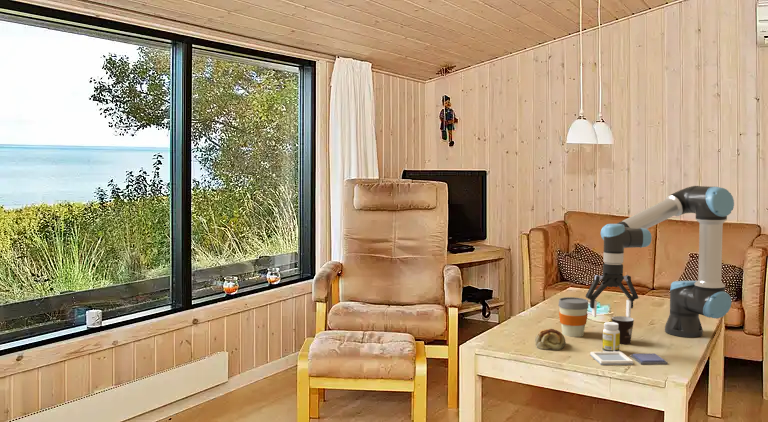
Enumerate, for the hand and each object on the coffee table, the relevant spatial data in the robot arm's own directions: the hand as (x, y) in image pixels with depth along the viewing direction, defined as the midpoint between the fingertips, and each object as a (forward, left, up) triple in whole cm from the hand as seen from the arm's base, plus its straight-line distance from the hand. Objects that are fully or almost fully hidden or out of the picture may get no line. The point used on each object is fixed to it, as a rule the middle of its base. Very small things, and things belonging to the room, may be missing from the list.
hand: (611, 316), depth 263 cm
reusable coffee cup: (+7, -26, -14) cm, 30 cm away
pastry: (+21, -8, -15) cm, 27 cm away
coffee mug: (-11, -13, -14) cm, 22 cm away
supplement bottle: (0, 0, -14) cm, 14 cm away
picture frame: (+4, +11, -14) cm, 18 cm away
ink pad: (-10, +12, -14) cm, 21 cm away
